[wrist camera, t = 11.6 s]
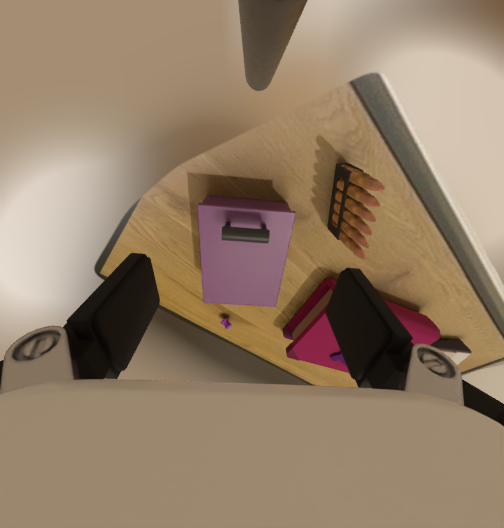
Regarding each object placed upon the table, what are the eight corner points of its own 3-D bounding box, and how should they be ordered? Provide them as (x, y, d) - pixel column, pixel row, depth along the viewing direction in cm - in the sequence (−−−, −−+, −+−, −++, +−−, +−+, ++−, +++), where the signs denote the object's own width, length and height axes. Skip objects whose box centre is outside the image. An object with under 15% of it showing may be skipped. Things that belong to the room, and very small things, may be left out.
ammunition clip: (337, 227, 37) (370, 264, 27) (327, 228, 37) (356, 265, 27) (348, 162, 31) (395, 179, 21) (336, 164, 31) (377, 181, 21)
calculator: (418, 348, 52) (475, 354, 52) (408, 334, 55) (461, 339, 56) (396, 371, 58) (447, 376, 58) (389, 357, 61) (437, 362, 62)
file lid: (198, 203, 27) (189, 215, 24) (295, 211, 28) (302, 224, 24) (204, 300, 38) (198, 320, 34) (275, 304, 38) (278, 324, 34)
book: (328, 273, 43) (341, 298, 36) (422, 311, 49) (448, 337, 43) (280, 331, 53) (284, 359, 47) (363, 356, 60) (376, 383, 54)
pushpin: (223, 313, 49) (221, 323, 47) (233, 317, 50) (233, 327, 48) (219, 318, 50) (217, 328, 48) (230, 322, 51) (228, 332, 49)
